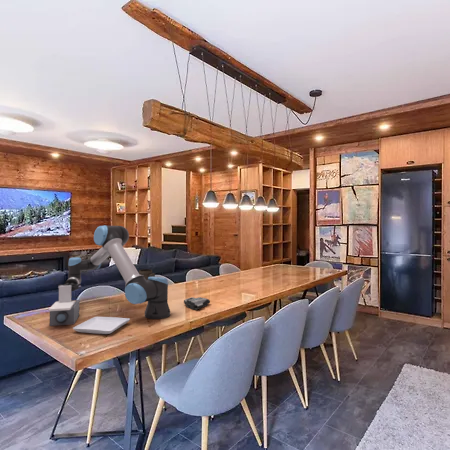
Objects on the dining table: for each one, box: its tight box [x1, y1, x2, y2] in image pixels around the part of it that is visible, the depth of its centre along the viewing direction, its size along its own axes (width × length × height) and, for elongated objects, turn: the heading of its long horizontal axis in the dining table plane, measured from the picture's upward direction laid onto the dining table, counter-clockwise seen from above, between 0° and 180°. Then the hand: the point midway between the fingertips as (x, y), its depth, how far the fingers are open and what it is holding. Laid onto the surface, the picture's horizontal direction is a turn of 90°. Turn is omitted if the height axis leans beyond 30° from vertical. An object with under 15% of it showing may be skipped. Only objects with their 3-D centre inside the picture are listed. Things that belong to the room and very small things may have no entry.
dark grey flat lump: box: [183, 296, 211, 311], centre depth 216 cm, size 16×20×5 cm
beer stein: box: [138, 268, 156, 281], centre depth 245 cm, size 15×11×20 cm
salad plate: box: [72, 316, 131, 335], centre depth 169 cm, size 21×21×3 cm
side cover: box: [48, 285, 75, 312], centre depth 175 cm, size 16×10×10 cm, turn 16°
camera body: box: [49, 299, 80, 327], centre depth 181 cm, size 20×12×9 cm, turn 16°
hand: (64, 291), depth 182 cm, fingers closed
